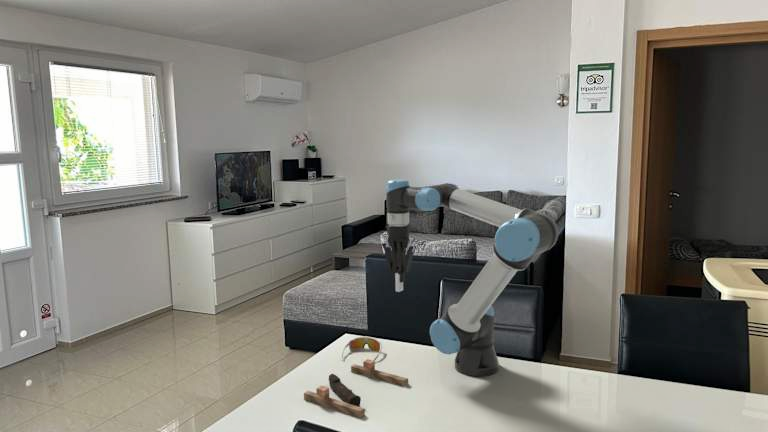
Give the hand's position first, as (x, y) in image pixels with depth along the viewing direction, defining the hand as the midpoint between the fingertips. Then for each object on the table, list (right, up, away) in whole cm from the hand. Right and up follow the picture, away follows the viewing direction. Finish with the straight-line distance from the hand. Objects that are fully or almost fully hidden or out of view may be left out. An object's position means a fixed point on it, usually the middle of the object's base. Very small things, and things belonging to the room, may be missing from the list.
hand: (399, 290), depth 201 cm
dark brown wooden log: (-19, -31, -22) cm, 42 cm away
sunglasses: (-14, -26, +11) cm, 31 cm away
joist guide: (-14, -30, -19) cm, 38 cm away
